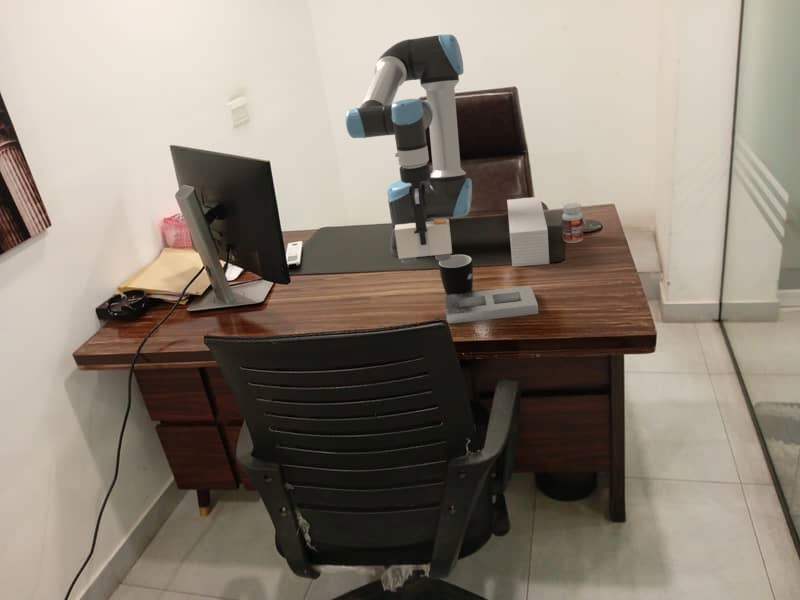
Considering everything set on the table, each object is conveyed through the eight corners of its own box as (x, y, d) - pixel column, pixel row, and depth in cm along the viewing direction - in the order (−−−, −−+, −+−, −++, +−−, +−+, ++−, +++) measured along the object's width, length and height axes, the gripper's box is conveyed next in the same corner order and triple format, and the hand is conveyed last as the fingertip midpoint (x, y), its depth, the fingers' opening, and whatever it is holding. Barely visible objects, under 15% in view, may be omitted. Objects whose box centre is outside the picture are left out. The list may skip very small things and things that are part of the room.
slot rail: (445, 303, 181) (444, 295, 180) (531, 293, 179) (530, 285, 178) (447, 324, 170) (446, 315, 169) (538, 313, 168) (537, 304, 167)
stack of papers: (509, 230, 226) (507, 199, 221) (541, 227, 224) (540, 196, 219) (512, 267, 197) (509, 233, 193) (549, 264, 195) (547, 229, 191)
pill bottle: (574, 245, 205) (572, 210, 200) (558, 241, 210) (557, 206, 205) (587, 239, 208) (586, 204, 203) (572, 235, 213) (571, 201, 208)
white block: (400, 259, 179) (395, 222, 175) (452, 254, 178) (448, 216, 174) (399, 265, 176) (394, 227, 171) (452, 259, 174) (448, 221, 170)
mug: (473, 301, 180) (469, 266, 175) (440, 302, 182) (436, 268, 178) (478, 282, 190) (474, 249, 186) (447, 283, 192) (443, 251, 188)
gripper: (400, 158, 174) (412, 242, 184) (397, 174, 159) (410, 265, 168) (429, 154, 174) (439, 239, 183) (428, 171, 158) (439, 262, 168)
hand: (425, 251), depth 176 cm, fingers closed on white block, 4 cm apart
